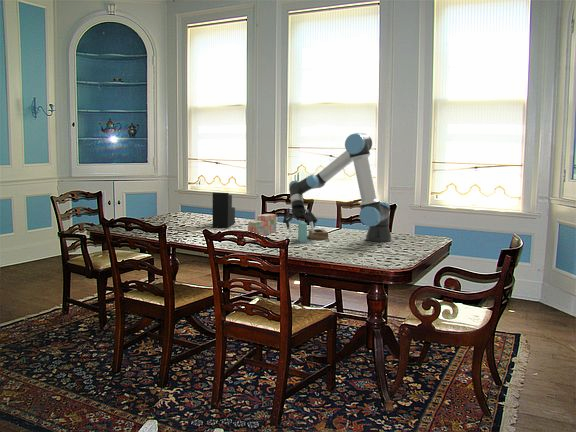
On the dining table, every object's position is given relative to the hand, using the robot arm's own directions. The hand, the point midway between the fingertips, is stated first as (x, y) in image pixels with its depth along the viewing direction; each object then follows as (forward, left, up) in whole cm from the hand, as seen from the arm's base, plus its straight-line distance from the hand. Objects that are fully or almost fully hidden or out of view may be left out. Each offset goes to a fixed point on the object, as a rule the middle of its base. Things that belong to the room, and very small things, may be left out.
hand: (301, 231), depth 341 cm
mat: (-1, 0, -6) cm, 6 cm away
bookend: (+18, -75, -6) cm, 78 cm away
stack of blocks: (+10, -31, -6) cm, 34 cm away
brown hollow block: (-16, -7, -6) cm, 18 cm away
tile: (-1, 0, -6) cm, 6 cm away
